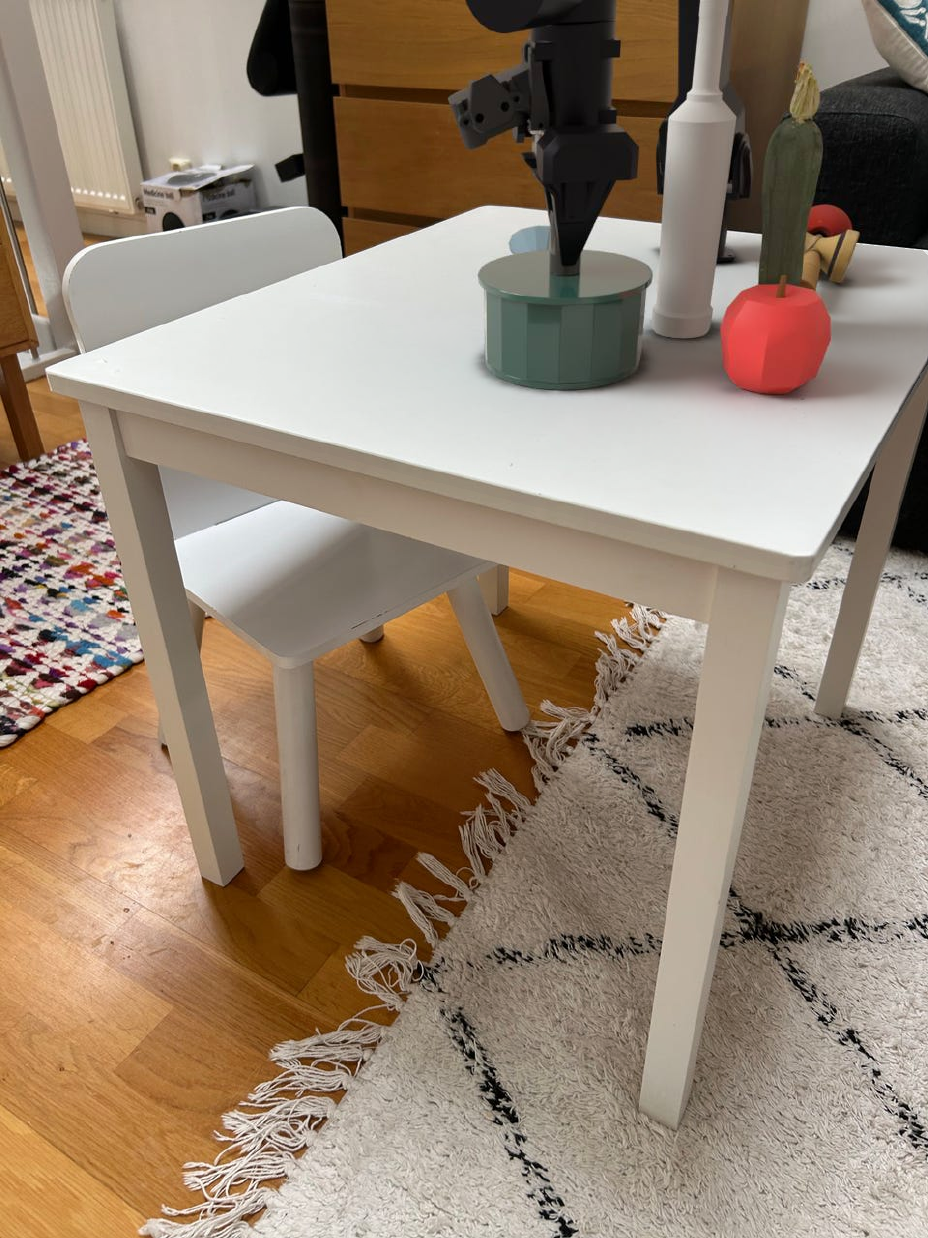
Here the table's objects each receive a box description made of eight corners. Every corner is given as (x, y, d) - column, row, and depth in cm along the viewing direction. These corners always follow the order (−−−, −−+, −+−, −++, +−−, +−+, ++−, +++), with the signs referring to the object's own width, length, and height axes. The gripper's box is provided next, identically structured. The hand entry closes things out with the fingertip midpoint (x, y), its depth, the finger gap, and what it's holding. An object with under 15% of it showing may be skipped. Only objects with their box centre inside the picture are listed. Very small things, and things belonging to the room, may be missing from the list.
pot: (479, 339, 83) (478, 261, 79) (621, 331, 83) (627, 254, 80) (493, 393, 73) (492, 307, 69) (654, 385, 73) (662, 299, 69)
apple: (828, 371, 74) (848, 265, 70) (813, 410, 69) (835, 297, 64) (724, 359, 77) (738, 256, 73) (702, 395, 71) (715, 285, 67)
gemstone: (566, 260, 91) (574, 213, 91) (491, 265, 94) (499, 219, 94) (586, 302, 97) (593, 258, 98) (516, 306, 100) (523, 262, 101)
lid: (471, 266, 80) (470, 194, 77) (631, 259, 80) (636, 187, 77) (486, 317, 69) (485, 236, 66) (670, 308, 69) (678, 226, 66)
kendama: (846, 329, 86) (866, 250, 98) (846, 260, 82) (866, 186, 94) (757, 335, 89) (786, 258, 101) (753, 269, 85) (784, 197, 97)
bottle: (717, 323, 84) (759, -17, 70) (703, 342, 81) (744, -14, 66) (659, 317, 86) (689, -16, 72) (643, 335, 82) (671, -13, 68)
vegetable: (795, 335, 81) (841, 64, 70) (742, 333, 82) (780, 65, 71) (791, 318, 85) (835, 58, 73) (741, 316, 86) (776, 59, 74)
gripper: (445, 17, 72) (453, 235, 81) (462, 36, 57) (469, 302, 66) (593, 11, 72) (584, 229, 81) (649, 29, 57) (630, 294, 66)
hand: (565, 260), depth 73 cm, fingers closed on lid, 2 cm apart
